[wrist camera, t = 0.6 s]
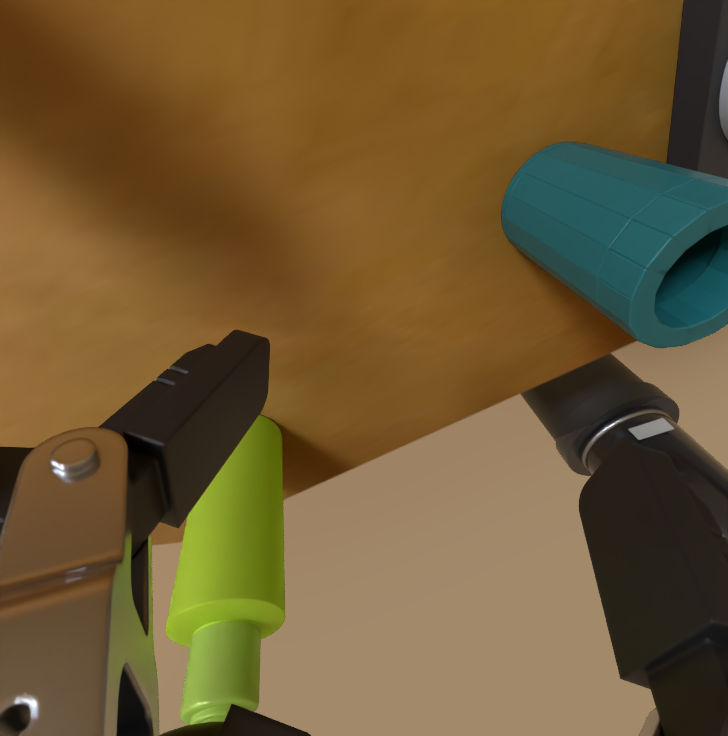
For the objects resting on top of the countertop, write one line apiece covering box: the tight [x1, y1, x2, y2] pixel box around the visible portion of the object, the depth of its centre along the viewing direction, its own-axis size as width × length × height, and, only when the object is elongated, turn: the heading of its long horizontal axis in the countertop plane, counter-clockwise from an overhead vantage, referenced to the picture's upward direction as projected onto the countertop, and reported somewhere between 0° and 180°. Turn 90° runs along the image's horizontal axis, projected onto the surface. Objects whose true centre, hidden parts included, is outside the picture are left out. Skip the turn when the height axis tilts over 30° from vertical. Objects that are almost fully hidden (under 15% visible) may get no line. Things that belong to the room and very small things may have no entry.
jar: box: [501, 142, 728, 348], centre depth 19 cm, size 6×6×11 cm
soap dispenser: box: [166, 415, 285, 725], centre depth 23 cm, size 6×7×20 cm
